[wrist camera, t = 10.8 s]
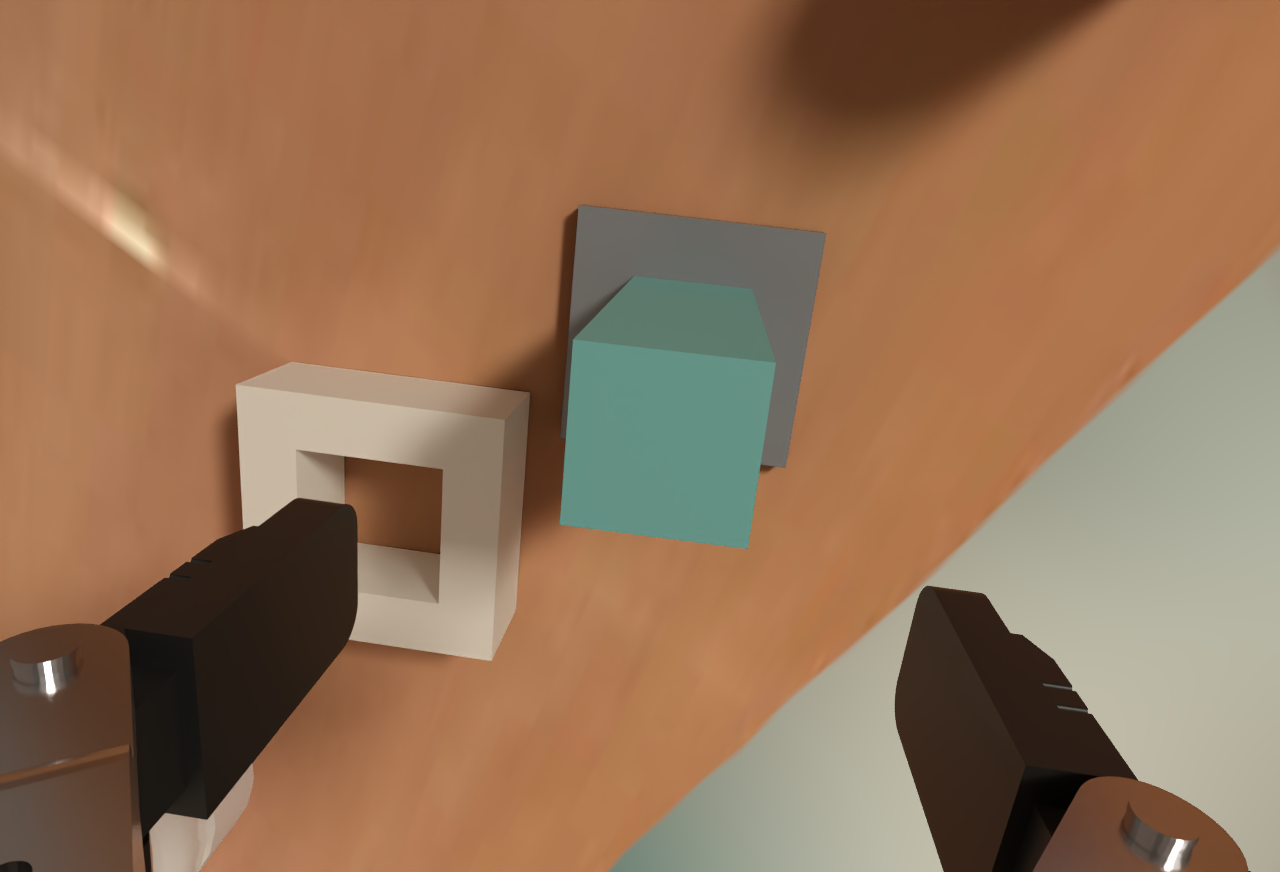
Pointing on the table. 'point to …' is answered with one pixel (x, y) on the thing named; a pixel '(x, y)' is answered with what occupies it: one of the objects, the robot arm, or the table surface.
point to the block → (668, 413)
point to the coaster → (706, 255)
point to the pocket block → (414, 435)
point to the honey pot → (197, 831)
